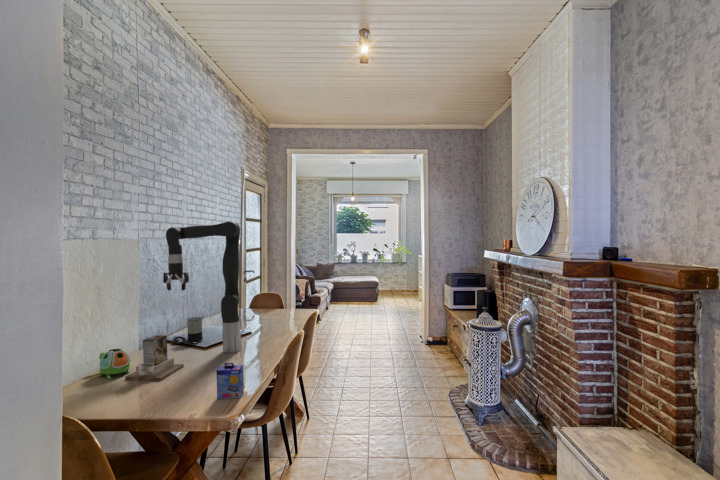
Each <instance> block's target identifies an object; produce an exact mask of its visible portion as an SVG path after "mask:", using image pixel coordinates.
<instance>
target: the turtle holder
mask: <svg viewBox="0 0 720 480" xmlns="http://www.w3.org/2000/svg"><path fill="white" fill-rule="evenodd" d="M98 358H99V364H98V365H99V373H100V374H99V377H100V378H101V377H103V376H104V375H106V378H107V379H109V380H110V379H112V378H113V377H112V376H111V375H118V374H122V373H124V372H125V373H126V374H127V373H129V374H131V372H130V370H129V369H130V368H131V359H130V356H129V354H128V352H126V351H125V350H124V349H123V348H118V347H116V348H110V349H108V350H106V352H104V351H103V352H101V353H100V354H99V356H98Z"/></svg>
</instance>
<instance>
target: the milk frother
mask: <svg viewBox="0 0 720 480" xmlns="http://www.w3.org/2000/svg"><path fill="white" fill-rule="evenodd" d="M186 320H187V338H185V337H183V336H175V337H174V338H172V343H173V344H175V345H181V343H182V344H184V343H185V342H186V341H188V342H190V343H189V344H194V343H193V342H199V341H201V340H203V341H204V339H203V336H204V335H203V317H200V316H193V317H188V318H187V319H186ZM180 340H182V341H180ZM183 342H184V343H183ZM199 343H200V342H199Z"/></svg>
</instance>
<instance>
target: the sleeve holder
mask: <svg viewBox="0 0 720 480" xmlns="http://www.w3.org/2000/svg"><path fill="white" fill-rule="evenodd" d="M167 359H168V360H166V361H164V362H163V363H161V364H159V365H157V366H144V362H143V363H141V364H139V365H136V366H135V371H134V372H132V373H131V372H130V373H129V374H127V375H126V376H125V377H124V379H125V381H147V380H150V381H152V382H158V381H159V382H162V381H164V380H165V379H167V378H168V377H170V376H171V374H172V375H173V374H175V373H176V372H177V371H180V370H181V369H183V368H184V365H185V364H184V363H175V361H174V360H175V358H174V357H167ZM166 377H167V378H166ZM150 381H149V382H150Z"/></svg>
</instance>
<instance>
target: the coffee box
mask: <svg viewBox="0 0 720 480" xmlns="http://www.w3.org/2000/svg"><path fill="white" fill-rule="evenodd" d="M167 337H168V336H167V335H163V334H162V335H161V334H160V335H157V334H156V335H152V336H150V337H148V338H146V339H142V355H143V359H142V360H143V363H144V366H157V365H159V364H161V363H163V362H164V361H166V360H168V359H167V358H168V341H167V339H168V338H167Z"/></svg>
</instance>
